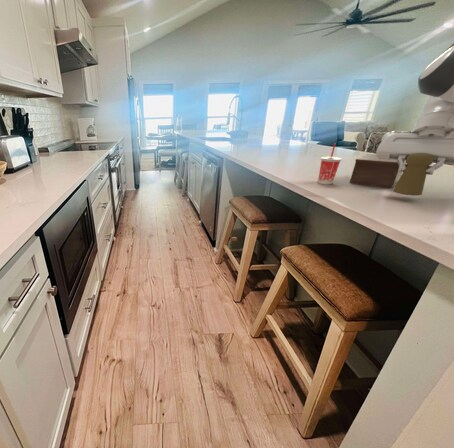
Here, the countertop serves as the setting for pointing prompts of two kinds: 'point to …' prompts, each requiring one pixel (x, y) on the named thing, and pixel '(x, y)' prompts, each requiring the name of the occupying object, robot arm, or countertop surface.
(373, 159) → the lid
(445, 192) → the countertop surface
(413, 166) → the cork
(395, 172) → the chest
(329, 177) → the beverage cup
